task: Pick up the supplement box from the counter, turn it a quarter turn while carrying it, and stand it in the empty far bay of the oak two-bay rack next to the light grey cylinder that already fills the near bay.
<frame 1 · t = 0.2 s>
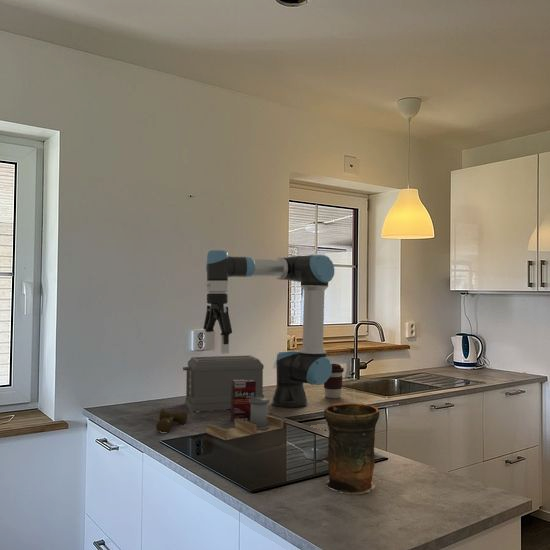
hand: (217, 351, 203), 27 cm above the worktop, tool pointing down, fingers open, 13 cm apart
coffee cup: (332, 397, 260), on the worktop
oak rack: (245, 433, 195), on the worktop
vessel: (351, 486, 145), on the worktop
light grey cylinder: (258, 427, 199), point 1 cm above the worktop, touching oak rack
toaster: (224, 406, 240), on the worktop
kendama: (170, 427, 203), on the worktop
supplement box: (243, 423, 210), on the worktop
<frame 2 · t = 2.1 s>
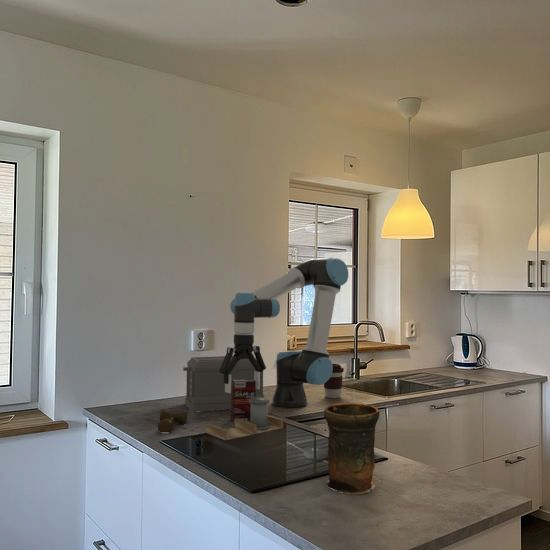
hand: (242, 390, 210), 12 cm above the worktop, tool pointing down, fingers open, 13 cm apart
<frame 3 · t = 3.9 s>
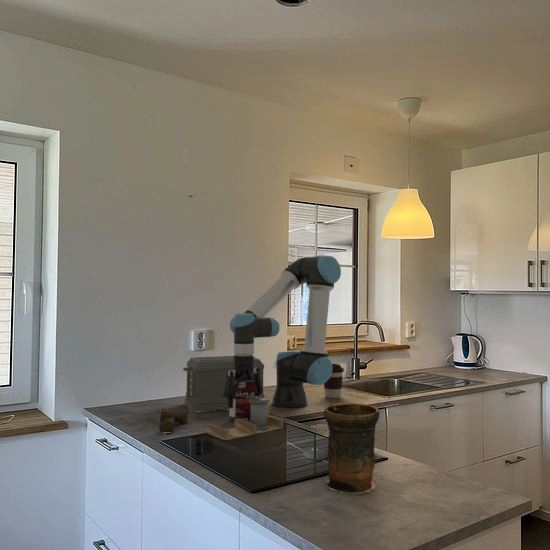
hand: (243, 414, 210), 3 cm above the worktop, tool pointing down, fingers closed on supplement box, 9 cm apart
supplement box: (243, 423, 210), on the worktop, touching gripper
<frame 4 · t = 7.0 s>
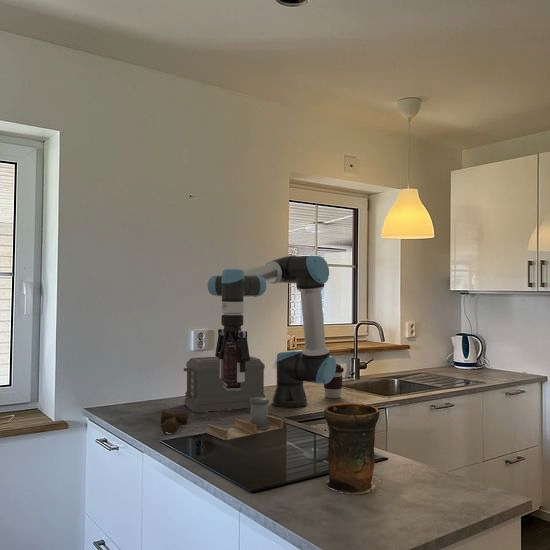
hand: (231, 379, 191), 19 cm above the worktop, tool pointing down, fingers closed on supplement box, 9 cm apart
supplement box: (231, 389, 191), point 16 cm above the worktop, touching gripper
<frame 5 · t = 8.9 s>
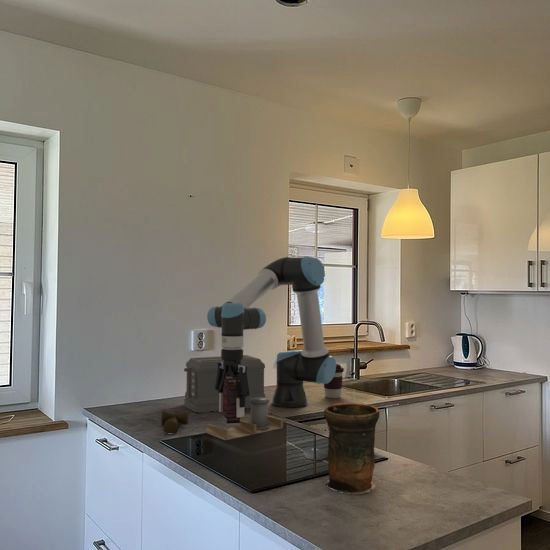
hand: (231, 414, 191), 8 cm above the worktop, tool pointing down, fingers closed on supplement box, 9 cm apart
supplement box: (231, 423, 191), point 4 cm above the worktop, touching gripper
when the fingers open (5 cm above the worktop, at t = 10.3 s): supplement box drops 1 cm, resting on oak rack.
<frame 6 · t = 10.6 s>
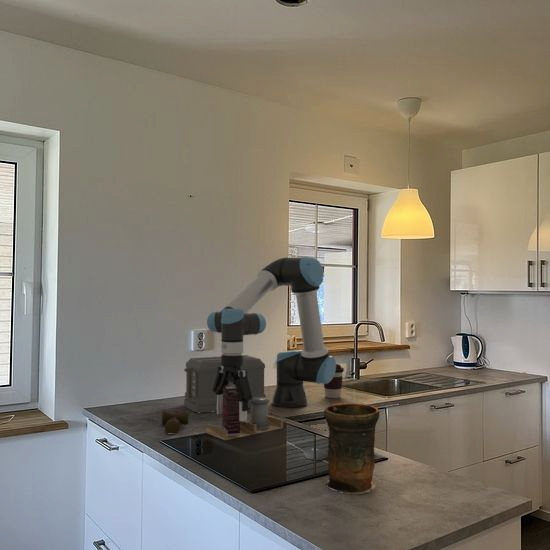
hand: (231, 417, 191), 7 cm above the worktop, tool pointing down, fingers open, 12 cm apart
supplement box: (231, 433, 191), point 1 cm above the worktop, touching oak rack
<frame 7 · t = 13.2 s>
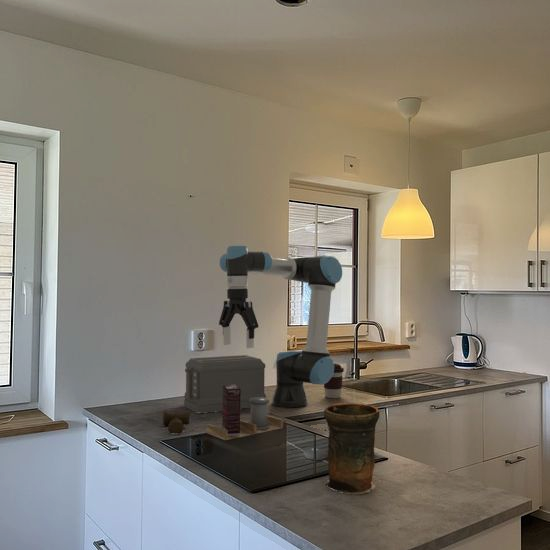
hand: (238, 346, 204), 29 cm above the worktop, tool pointing down, fingers open, 13 cm apart
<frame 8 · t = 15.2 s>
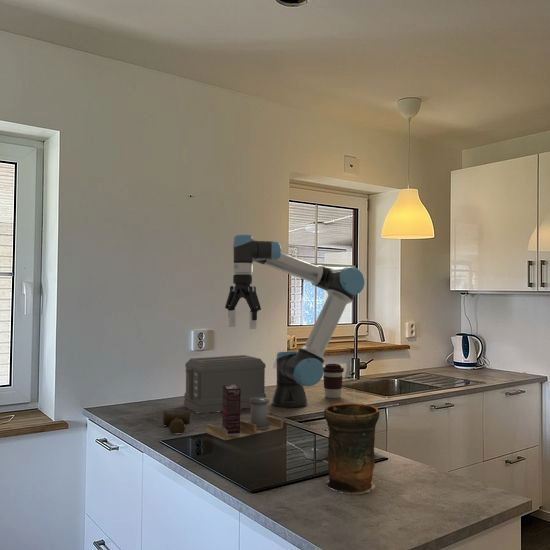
hand: (242, 327, 221), 35 cm above the worktop, tool pointing down, fingers open, 13 cm apart
at the end: supplement box inside the target area on the oak rack (0.2 cm from its centre), point 0.8 cm above the oak rack's base; supplement box tilted 0°; light grey cylinder moved 0.0 cm from its start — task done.
